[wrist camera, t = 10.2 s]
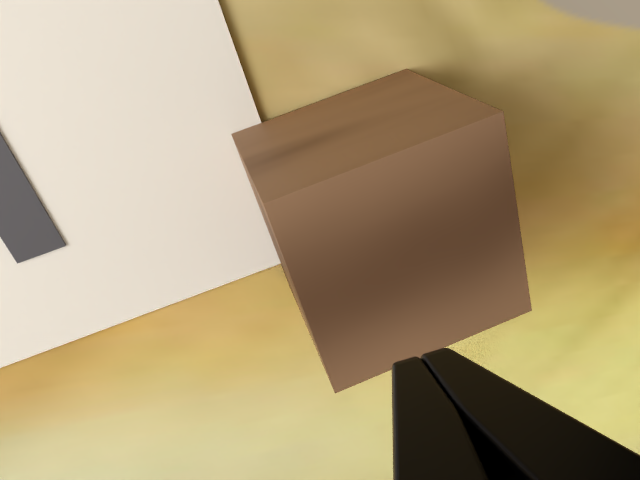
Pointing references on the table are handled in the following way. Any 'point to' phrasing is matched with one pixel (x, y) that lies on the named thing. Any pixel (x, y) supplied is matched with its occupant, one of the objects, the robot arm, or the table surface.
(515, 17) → the table surface
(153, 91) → the letter tile
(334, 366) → the cube
